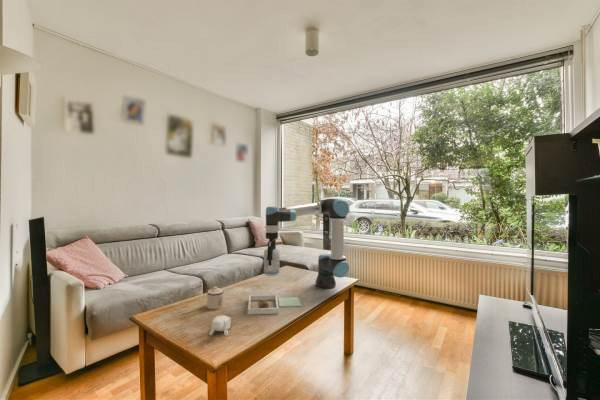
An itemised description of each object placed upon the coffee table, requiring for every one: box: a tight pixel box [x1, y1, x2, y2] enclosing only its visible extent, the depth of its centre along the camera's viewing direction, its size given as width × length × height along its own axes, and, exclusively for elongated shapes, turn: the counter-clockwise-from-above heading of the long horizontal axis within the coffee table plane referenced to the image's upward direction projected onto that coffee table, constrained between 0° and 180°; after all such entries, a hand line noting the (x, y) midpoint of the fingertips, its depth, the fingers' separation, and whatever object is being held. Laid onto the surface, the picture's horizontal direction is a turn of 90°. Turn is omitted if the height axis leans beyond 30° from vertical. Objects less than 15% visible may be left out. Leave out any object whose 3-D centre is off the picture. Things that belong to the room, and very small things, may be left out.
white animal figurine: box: [209, 314, 232, 337], centre depth 130 cm, size 9×8×15 cm
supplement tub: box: [263, 248, 281, 277], centre depth 167 cm, size 10×10×15 cm
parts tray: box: [247, 294, 280, 316], centre depth 162 cm, size 17×21×3 cm
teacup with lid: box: [206, 285, 224, 310], centre depth 161 cm, size 12×9×12 cm
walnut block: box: [257, 300, 270, 308], centre depth 156 cm, size 5×5×5 cm
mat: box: [277, 297, 302, 308], centre depth 169 cm, size 13×13×1 cm
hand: (271, 268), depth 168 cm, fingers closed on supplement tub, 10 cm apart
